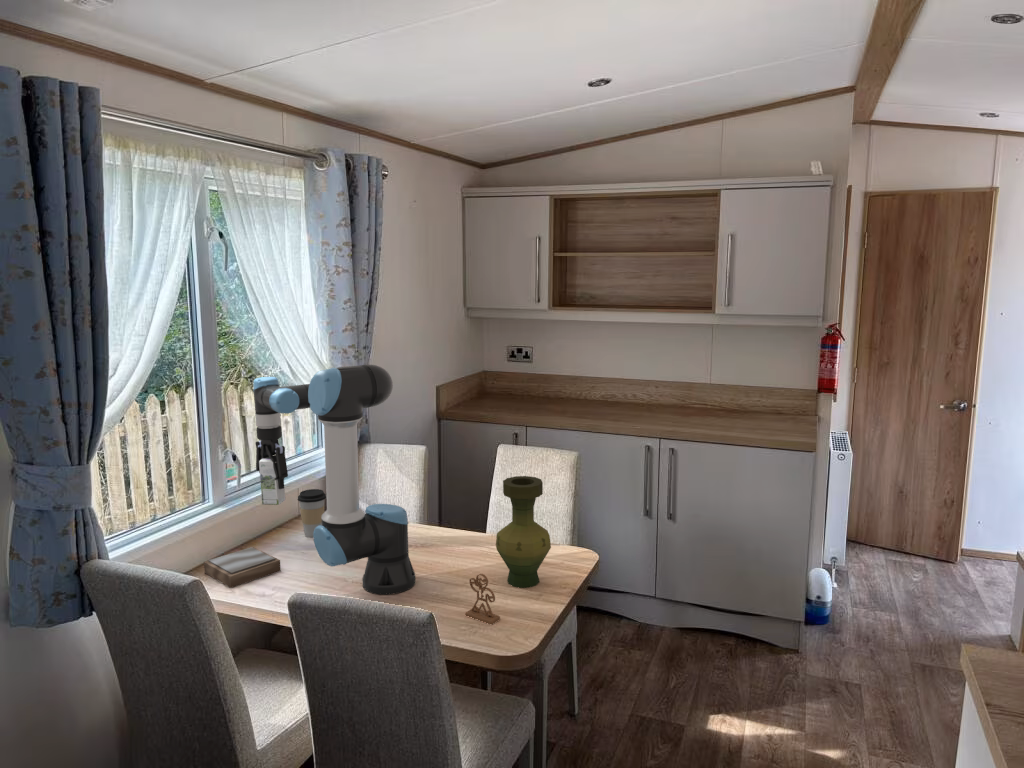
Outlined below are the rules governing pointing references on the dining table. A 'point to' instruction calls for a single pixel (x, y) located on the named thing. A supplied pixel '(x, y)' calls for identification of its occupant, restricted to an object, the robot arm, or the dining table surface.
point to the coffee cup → (311, 509)
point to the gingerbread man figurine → (475, 611)
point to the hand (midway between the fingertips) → (273, 495)
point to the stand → (242, 566)
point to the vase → (523, 533)
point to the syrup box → (268, 482)
